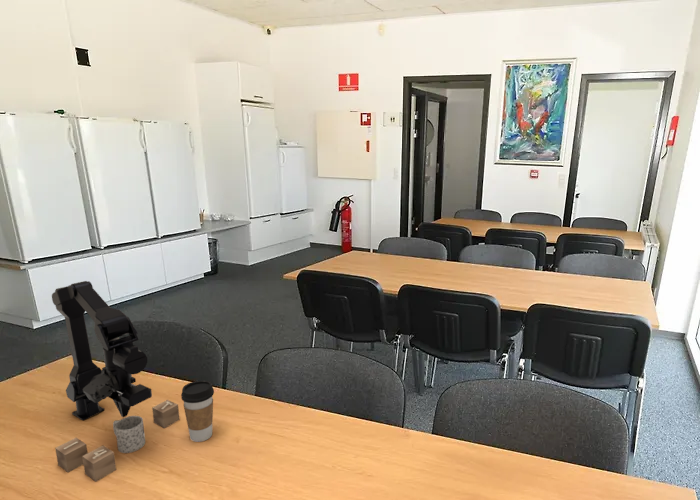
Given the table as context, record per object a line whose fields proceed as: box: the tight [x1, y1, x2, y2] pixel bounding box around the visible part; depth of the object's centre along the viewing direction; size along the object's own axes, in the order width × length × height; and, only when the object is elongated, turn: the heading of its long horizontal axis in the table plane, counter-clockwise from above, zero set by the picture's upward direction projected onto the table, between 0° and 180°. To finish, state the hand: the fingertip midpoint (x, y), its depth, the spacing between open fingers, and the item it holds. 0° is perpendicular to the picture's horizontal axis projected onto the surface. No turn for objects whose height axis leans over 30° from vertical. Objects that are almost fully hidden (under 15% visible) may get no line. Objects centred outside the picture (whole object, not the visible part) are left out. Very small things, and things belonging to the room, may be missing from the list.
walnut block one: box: [55, 437, 89, 473], centre depth 112 cm, size 5×5×5 cm
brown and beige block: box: [151, 399, 180, 429], centre depth 130 cm, size 5×5×5 cm
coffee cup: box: [180, 380, 215, 443], centre depth 122 cm, size 8×8×15 cm
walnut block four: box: [82, 444, 117, 482], centre depth 109 cm, size 5×5×5 cm
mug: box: [112, 415, 146, 454], centre depth 120 cm, size 10×7×7 cm, turn 62°
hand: (124, 416), depth 119 cm, fingers closed
